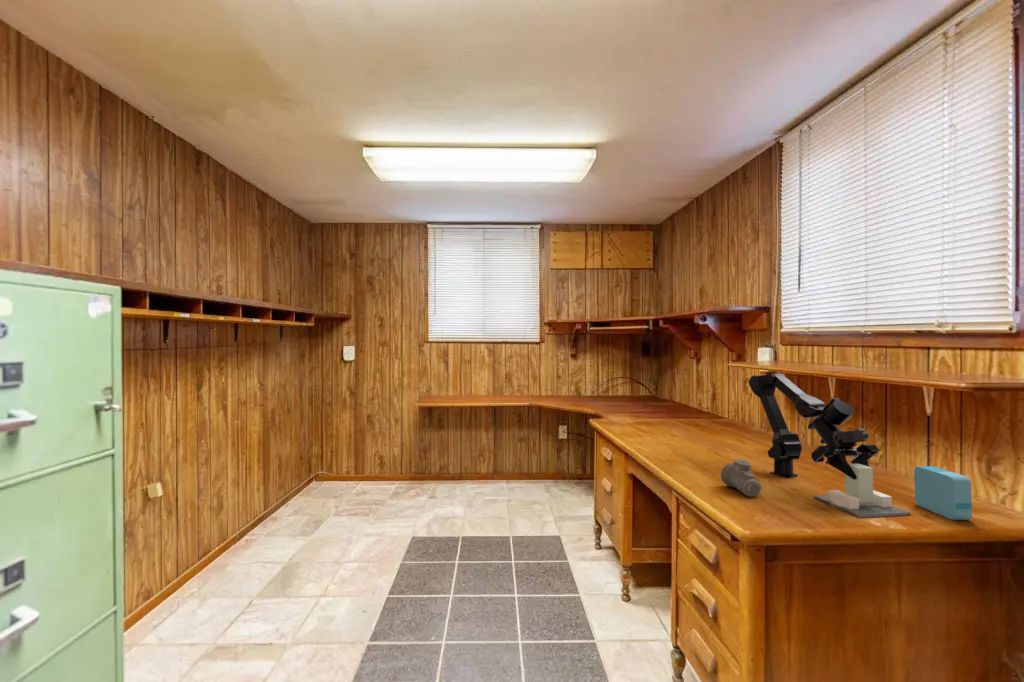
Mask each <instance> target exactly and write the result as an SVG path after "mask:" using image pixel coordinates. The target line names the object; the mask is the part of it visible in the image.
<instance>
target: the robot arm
mask: <svg viewBox="0 0 1024 682" xmlns="http://www.w3.org/2000/svg"><path fill="white" fill-rule="evenodd" d="M748 385H749V388H750V389H751V391H752V393H753V394H755V396H757V397H758V398H759V399H760V401H761V404H762V407H763V409H764V412H765V414H766V416H767V417H766V418H767V420H768V422H769V425H770V427H771V429H772V433H773V436H772V439H771V442H772V443H771V444H772V446H771V447H770V448H769V449H768V450H767V455H768V458H771V459H773V461H774V462H773V471H770V474H771V475H775V476H779V477H782V478H785V479H790V478H794V477H798V475H799V474H797V473H795V472H794V460H799V459H800V457H801V453H802V450H803V447H802V442H801V440H800V437H799V435H798V433H796V432H795V433H792V432H791V431H790V430H789V428H788V426H787V423H786V420H785V419H784V416H783V414H782V410H781V408H780V406H779V403H778V401H777V398H776V397H775V392H776V389H777V390H779V391H780V392H781V393H782V394H783V395H785V396H786V397H787V399H789V400H790V401H791V402H792V403H793V404H794V406H793V407H794V409H795V410H796V412H797V413H798V414H799V415H800V416H801V417H802V418H806V419H809V418H811V419H812V418H814V419H813V420H808V421H809V422H808V425H807V429H808V430H815V431H816V433H818V435H819V437H820V438H821V440H820V441H819V442H820V443H821V445H819V446H817V448H815V449H814V450H813V451H812V452H811V453H810V454H811V459H812V460H813V462H814V463H823V462H824V461H825V458H826V461H825V464H826V465H829V466H831V467H833V468H834V469H836V470H838V471H839V472H841V473H843V474H844V475H845V474H846V475H847V476H849V477H851V478H852V479H854V480H856V479H857V477H856V475H855V473H854V471H853V470H852V468H851V467H850V465H849V464H857V463H859V464H862V465H865V466H868V467H870V465H869V460H870V459H871V458H873V457H875V455H877V454H878V453H879V452H880V451H881V450H880V449H879V448H878V446H877V445H876V444H873V443H862V444H860V445H859V446H858V447H856V446H857V445H858V443H861V442H866V441H867V439H869V433H868V432H867V431H866V430H865V429H864V428H859V427H858V428H856V429H853V430H847V431H845V430H841V429H840V428H839V427H838V426H842V425H843V424H844V423H846V422H847V420H849V419H850V418H851V417H853V415H854V414H855V409H854V407H853V406H852V405H850V404H849V403H847V402H845V401H843V400H841V399H840V398H839V397H836V398H835V397H834V398H831V400H830V401H829V403H827V404H825V402H824V401H822V400H820V399H818V398H817V397H816V396H813V395H810V394H807V393H805V392H804V391H803V390H802V389H800V388H799V387H798V386H797V385H796V384H794V383H793V382H792V381H791V380H790V379H788V378H787V377H786V375H785V374H784V373H781V372H777V373H775V372H772V373H769V374H765V375H762V374H761V375H760V374H759V375H756V374H755V375H752V376H751V377H750V378H749V380H748ZM854 447H856V448H854ZM846 456H847V457H848V456H849V457H851V459H852V460H851V461H850V463H848V461H847V457H846ZM824 457H825V458H824Z"/></svg>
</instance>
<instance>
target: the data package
mask: <svg viewBox="0 0 1024 682" xmlns="http://www.w3.org/2000/svg"><path fill="white" fill-rule="evenodd" d="M913 473H914V475H913V476H914V478H913V479H914V481H913V483H914V501H915V504H916V505H917V506H918V507H920V508H922V509H924V508H925V510H927V511H929V510H930V511H929V512H932V513H934V514H936V513H937V515H939V516H941V517H943V516H944V518H946V519H949V520H953V521H954V520H955V521H969V520H972V517H973V512H972V511H973V510H972V508H973V506H972V505H973V504H972V502H973V501H972V481H971V479H969V477H967V476H966V475H963V474H959V473H957V472H956V473H955V472H953V471H949V470H946V469H944V468H940V467H937V466H931V465H930V466H928V465H927V466H925V465H921V466H920V465H919V466H915V467H914V470H913Z"/></svg>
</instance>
